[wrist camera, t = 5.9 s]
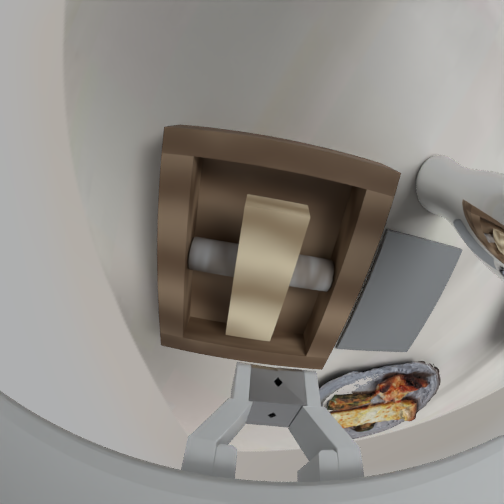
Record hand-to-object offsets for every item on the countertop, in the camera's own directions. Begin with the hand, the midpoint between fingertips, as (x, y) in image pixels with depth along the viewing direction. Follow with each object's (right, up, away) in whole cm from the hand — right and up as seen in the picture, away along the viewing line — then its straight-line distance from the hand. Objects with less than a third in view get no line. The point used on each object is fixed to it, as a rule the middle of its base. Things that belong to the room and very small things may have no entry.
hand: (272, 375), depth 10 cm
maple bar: (0, +2, +13) cm, 13 cm away
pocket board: (0, +4, +17) cm, 18 cm away
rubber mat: (+16, -1, +19) cm, 25 cm away
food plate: (+19, -20, +29) cm, 40 cm away
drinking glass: (+18, +11, +13) cm, 25 cm away
